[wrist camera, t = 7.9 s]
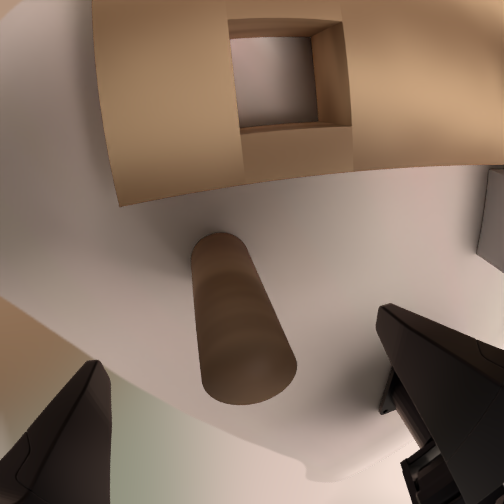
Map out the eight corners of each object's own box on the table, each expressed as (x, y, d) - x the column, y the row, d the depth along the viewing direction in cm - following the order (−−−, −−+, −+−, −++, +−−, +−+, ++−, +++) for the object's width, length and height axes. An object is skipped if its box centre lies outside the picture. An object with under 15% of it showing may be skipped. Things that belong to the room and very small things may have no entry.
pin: (251, 278, 15) (297, 393, 9) (197, 289, 15) (212, 412, 8) (244, 227, 14) (295, 330, 8) (185, 238, 13) (191, 352, 7)
